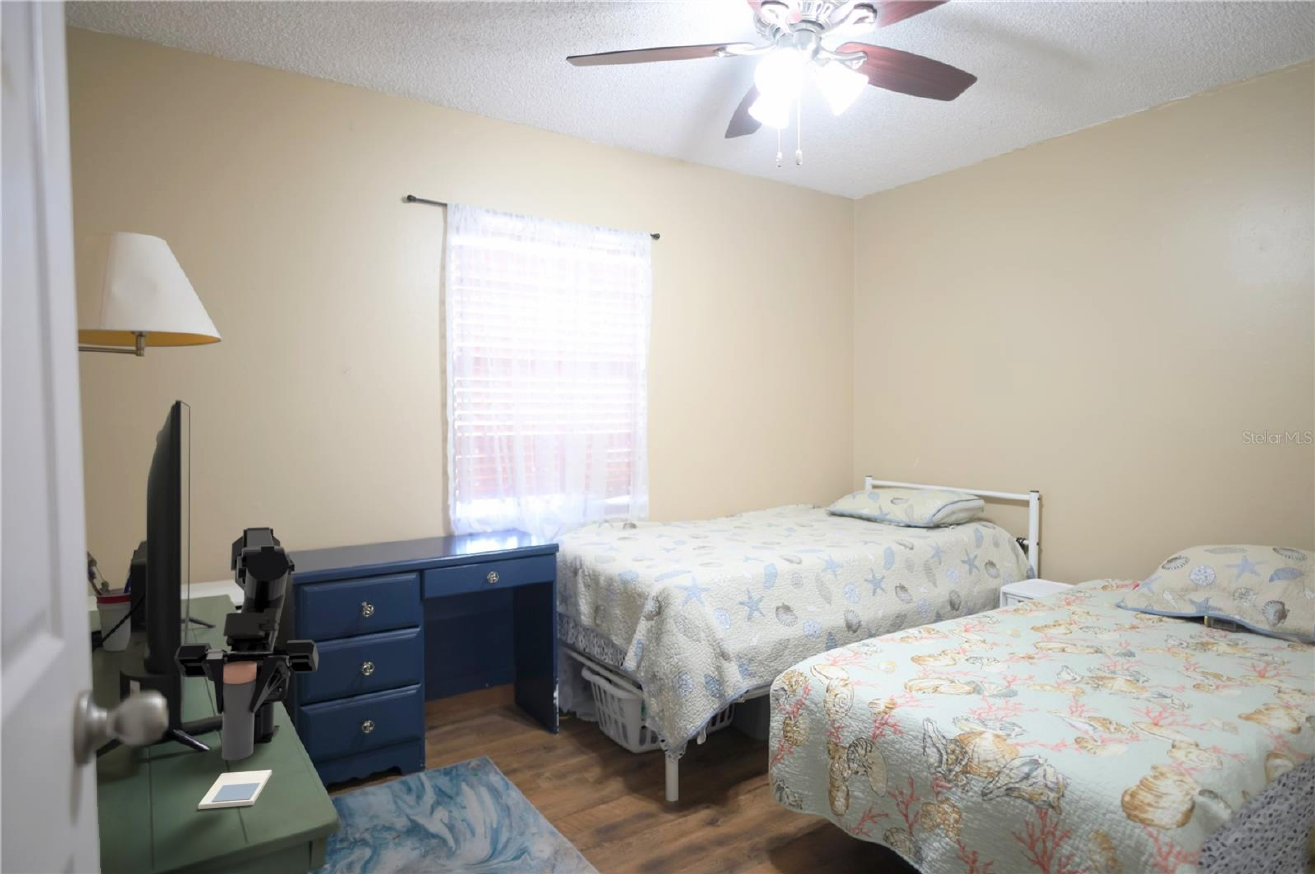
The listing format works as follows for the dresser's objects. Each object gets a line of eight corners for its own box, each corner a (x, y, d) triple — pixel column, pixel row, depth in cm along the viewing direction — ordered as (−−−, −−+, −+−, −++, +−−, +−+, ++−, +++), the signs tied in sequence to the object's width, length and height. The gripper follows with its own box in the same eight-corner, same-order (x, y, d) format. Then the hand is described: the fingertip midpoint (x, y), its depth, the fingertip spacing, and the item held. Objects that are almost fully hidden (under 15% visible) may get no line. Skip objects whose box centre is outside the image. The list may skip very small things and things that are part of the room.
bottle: (226, 749, 111) (229, 661, 111) (257, 747, 112) (260, 660, 112) (216, 761, 107) (219, 670, 106) (249, 759, 108) (251, 669, 107)
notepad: (221, 777, 115) (221, 772, 115) (271, 773, 117) (271, 769, 117) (198, 809, 105) (198, 804, 105) (252, 805, 107) (253, 800, 107)
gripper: (181, 589, 111) (146, 689, 100) (317, 587, 115) (298, 683, 104) (198, 628, 118) (168, 725, 108) (325, 625, 123) (308, 718, 112)
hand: (235, 712), depth 108 cm, fingers closed on bottle, 4 cm apart
